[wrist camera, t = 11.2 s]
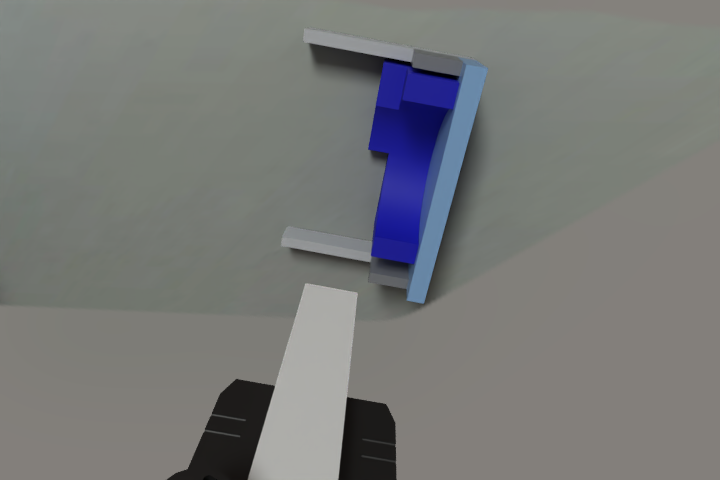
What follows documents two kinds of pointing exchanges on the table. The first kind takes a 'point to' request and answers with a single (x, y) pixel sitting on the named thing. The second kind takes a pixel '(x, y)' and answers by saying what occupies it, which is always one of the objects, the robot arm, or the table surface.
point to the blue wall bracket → (439, 174)
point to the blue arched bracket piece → (406, 151)
